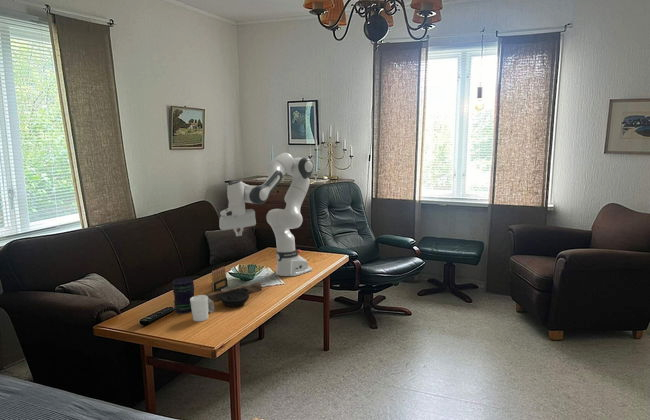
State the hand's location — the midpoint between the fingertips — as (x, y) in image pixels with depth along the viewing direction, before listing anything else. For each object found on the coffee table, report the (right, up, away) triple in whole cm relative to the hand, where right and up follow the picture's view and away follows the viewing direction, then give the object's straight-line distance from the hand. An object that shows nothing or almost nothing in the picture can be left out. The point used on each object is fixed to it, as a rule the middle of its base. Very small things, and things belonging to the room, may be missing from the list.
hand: (238, 235), depth 241 cm
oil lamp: (+3, -33, -19) cm, 38 cm away
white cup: (-10, -36, -38) cm, 53 cm away
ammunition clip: (-11, -30, +3) cm, 32 cm away
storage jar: (-21, -35, -26) cm, 48 cm away
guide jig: (+2, -32, -16) cm, 36 cm away
